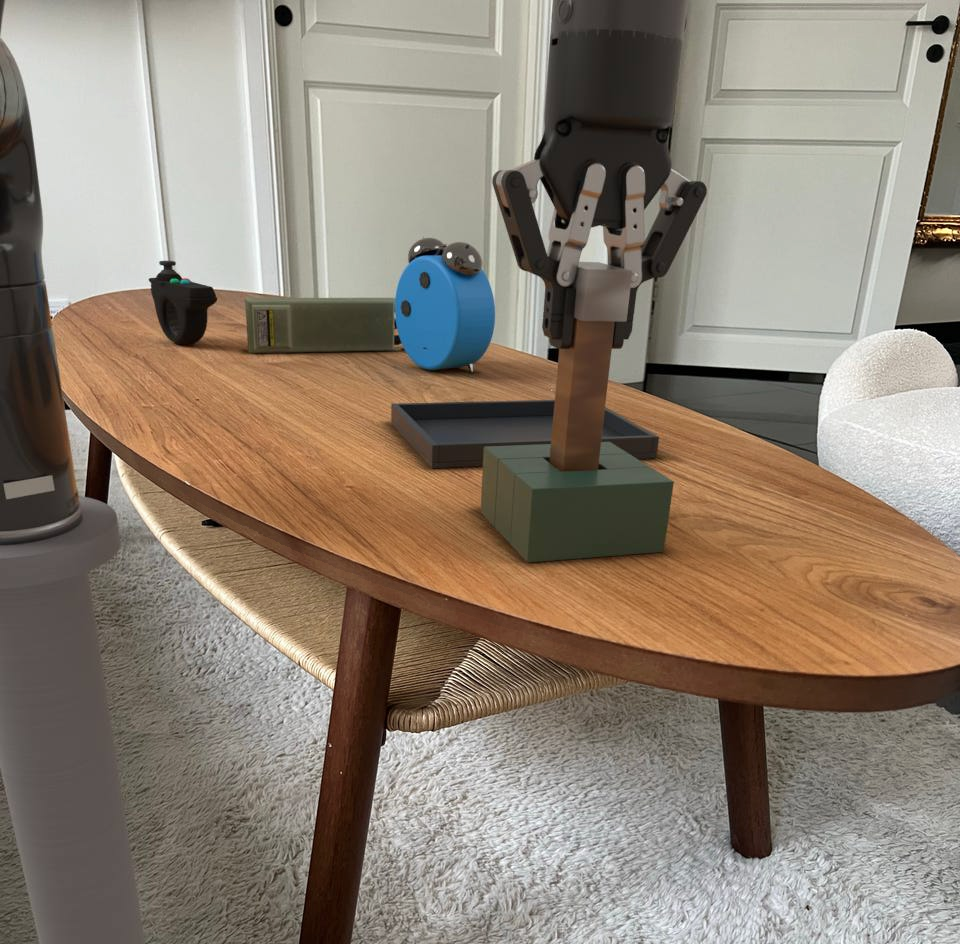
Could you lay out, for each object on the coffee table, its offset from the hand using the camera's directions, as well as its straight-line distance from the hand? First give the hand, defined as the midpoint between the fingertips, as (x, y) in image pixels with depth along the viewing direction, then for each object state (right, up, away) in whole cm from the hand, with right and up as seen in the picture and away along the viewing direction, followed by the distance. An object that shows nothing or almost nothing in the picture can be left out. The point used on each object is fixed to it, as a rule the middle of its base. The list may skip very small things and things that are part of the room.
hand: (585, 345), depth 61 cm
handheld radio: (-25, +20, +65) cm, 72 cm away
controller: (-46, +20, +63) cm, 80 cm away
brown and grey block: (0, -7, +4) cm, 8 cm away
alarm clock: (-12, +15, +57) cm, 60 cm away
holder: (-1, -11, +6) cm, 13 cm away
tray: (-3, 0, +28) cm, 28 cm away
